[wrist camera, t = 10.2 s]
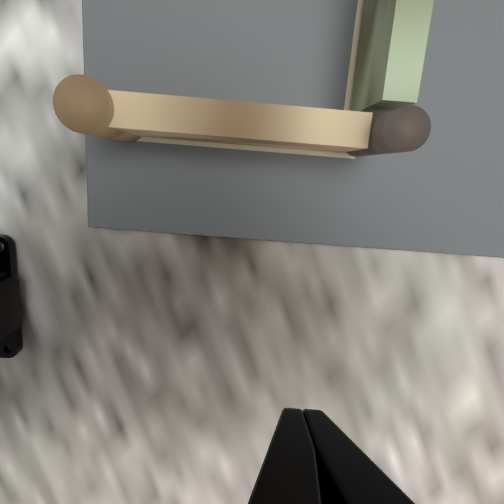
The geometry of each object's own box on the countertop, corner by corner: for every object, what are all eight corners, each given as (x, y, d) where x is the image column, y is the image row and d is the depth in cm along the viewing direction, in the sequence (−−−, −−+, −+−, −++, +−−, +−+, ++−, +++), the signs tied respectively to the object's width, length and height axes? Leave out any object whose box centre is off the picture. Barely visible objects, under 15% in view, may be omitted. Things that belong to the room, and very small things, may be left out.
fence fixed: (107, 141, 16) (41, 128, 11) (107, 99, 16) (37, 65, 11) (368, 162, 17) (425, 159, 12) (374, 121, 16) (436, 100, 11)
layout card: (91, 225, 18) (87, 227, 17) (79, -274, 13) (72, -290, 13) (577, 261, 19) (586, 264, 18) (715, -199, 14) (731, -212, 14)
